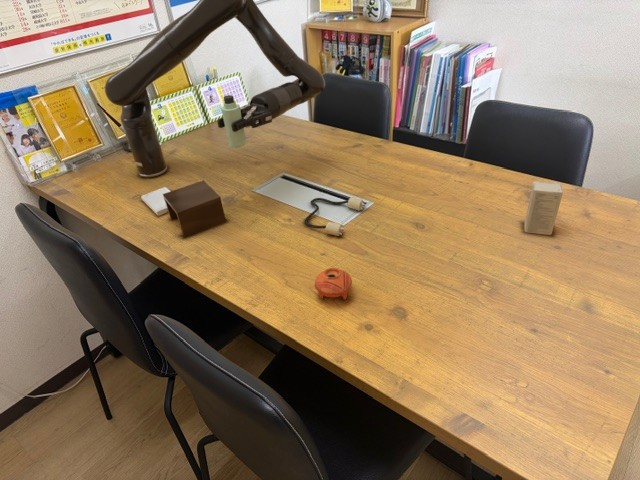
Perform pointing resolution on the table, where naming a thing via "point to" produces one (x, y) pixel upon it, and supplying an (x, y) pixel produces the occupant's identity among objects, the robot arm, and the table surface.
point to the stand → (195, 207)
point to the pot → (333, 283)
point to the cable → (331, 226)
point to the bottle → (231, 115)
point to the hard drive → (156, 200)
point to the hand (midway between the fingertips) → (225, 126)
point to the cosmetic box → (543, 207)
